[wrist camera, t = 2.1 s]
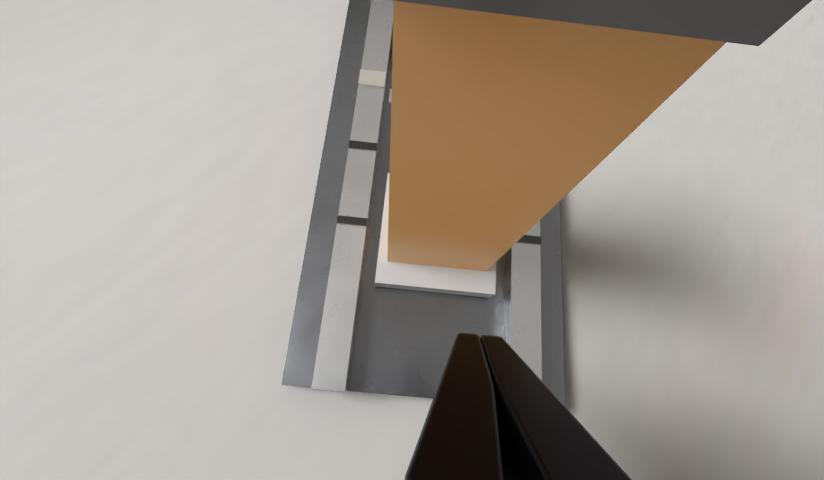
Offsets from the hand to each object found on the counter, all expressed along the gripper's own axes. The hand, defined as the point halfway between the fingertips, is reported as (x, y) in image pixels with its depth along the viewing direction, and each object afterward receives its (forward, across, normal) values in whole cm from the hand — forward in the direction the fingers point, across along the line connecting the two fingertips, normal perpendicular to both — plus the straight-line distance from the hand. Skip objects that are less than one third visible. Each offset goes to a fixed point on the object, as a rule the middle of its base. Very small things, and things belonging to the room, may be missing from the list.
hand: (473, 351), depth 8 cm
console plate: (+13, 0, +1) cm, 13 cm away
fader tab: (+10, 0, +3) cm, 11 cm away
